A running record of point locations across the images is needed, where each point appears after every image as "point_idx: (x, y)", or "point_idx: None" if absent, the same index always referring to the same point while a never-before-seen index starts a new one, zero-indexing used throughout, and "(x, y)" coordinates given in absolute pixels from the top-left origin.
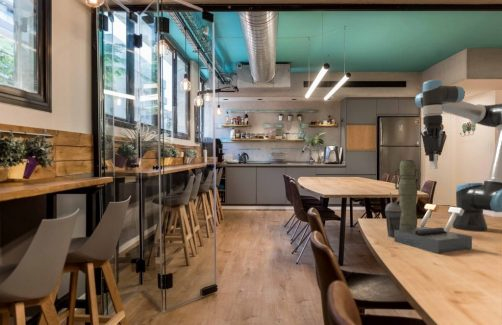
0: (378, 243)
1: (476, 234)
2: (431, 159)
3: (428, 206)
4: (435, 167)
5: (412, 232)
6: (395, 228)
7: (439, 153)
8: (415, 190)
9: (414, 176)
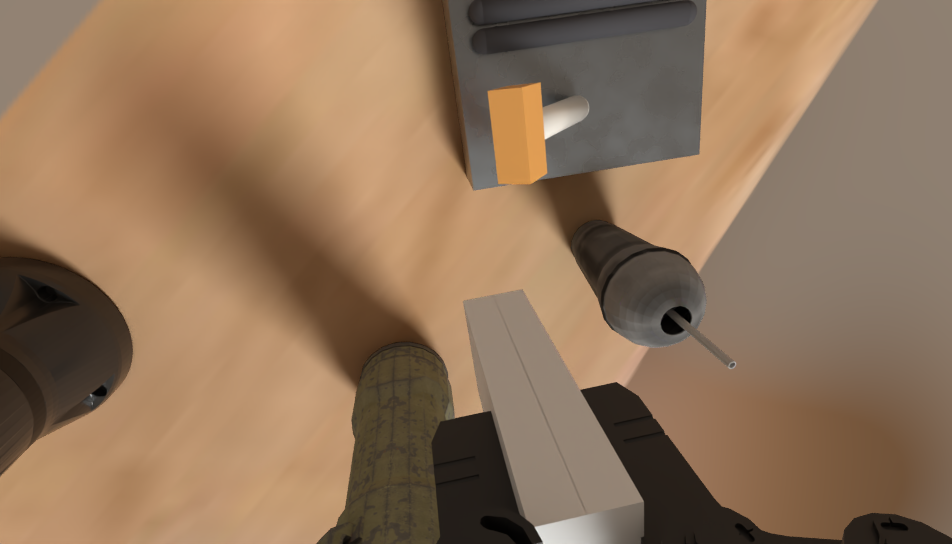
0: (765, 124)
1: (111, 187)
2: (644, 412)
3: (536, 147)
4: (515, 302)
5: (668, 58)
6: (621, 230)
7: (473, 517)
8: (375, 515)
9: None
